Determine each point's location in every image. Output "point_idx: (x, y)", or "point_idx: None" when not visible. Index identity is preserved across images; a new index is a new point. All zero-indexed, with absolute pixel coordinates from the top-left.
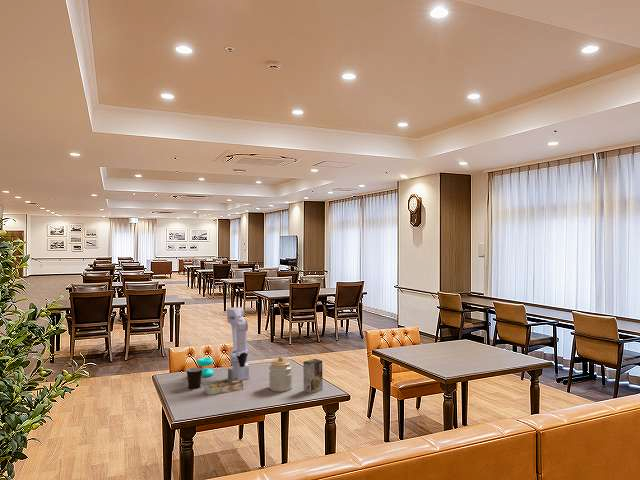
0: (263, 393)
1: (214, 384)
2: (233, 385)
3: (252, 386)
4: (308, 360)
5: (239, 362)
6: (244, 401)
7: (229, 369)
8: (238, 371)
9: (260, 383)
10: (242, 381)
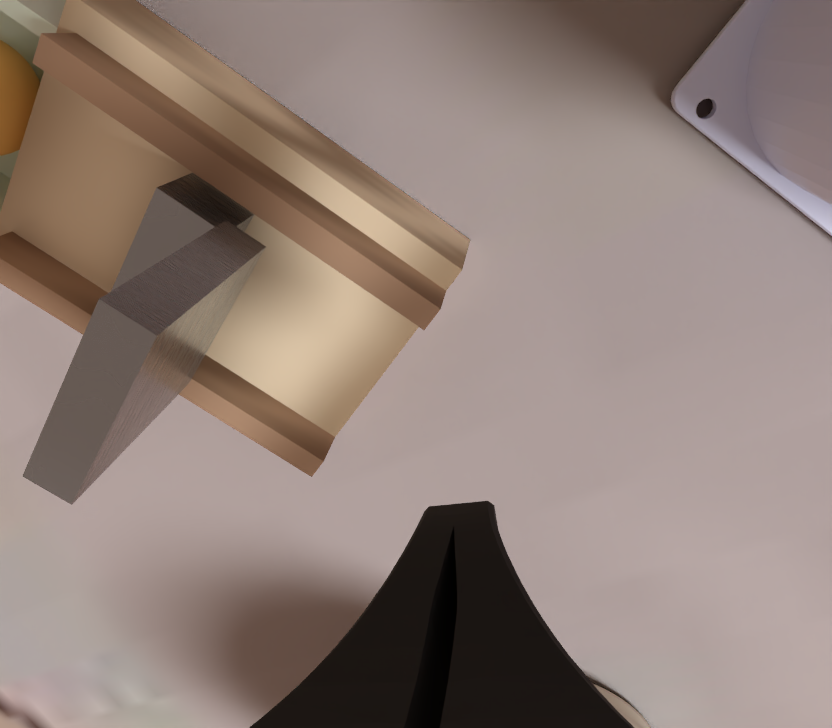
0: (309, 654)
1: (14, 12)
2: None
3: (487, 484)
4: None
5: (388, 597)
6: (28, 576)
7: (71, 372)
8: (822, 166)
9: (651, 530)
10: (314, 469)
